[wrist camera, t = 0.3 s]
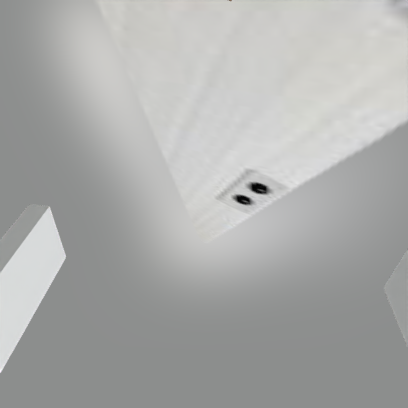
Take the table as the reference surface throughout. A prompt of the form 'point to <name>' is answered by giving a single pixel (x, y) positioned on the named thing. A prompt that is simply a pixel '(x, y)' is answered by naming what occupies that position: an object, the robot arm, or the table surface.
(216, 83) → the table surface
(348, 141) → the table surface
